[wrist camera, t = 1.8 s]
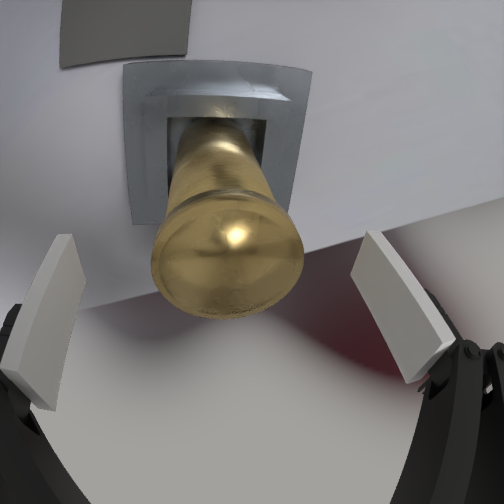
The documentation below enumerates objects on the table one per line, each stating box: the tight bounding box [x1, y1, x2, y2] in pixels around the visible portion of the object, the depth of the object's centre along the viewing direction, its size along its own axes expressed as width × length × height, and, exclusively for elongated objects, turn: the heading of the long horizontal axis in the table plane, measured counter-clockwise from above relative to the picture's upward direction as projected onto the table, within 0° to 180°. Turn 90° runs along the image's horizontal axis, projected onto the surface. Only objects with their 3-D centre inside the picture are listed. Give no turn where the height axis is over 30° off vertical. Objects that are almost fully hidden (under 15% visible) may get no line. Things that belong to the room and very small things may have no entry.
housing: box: [123, 60, 312, 225], centre depth 22 cm, size 14×14×6 cm
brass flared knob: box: [151, 117, 304, 319], centre depth 17 cm, size 6×6×14 cm
